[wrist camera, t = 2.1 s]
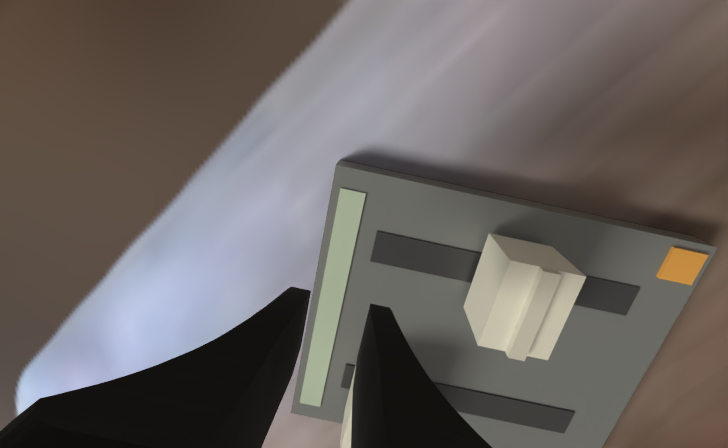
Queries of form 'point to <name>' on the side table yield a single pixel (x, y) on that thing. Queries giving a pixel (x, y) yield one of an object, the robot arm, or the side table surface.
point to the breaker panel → (449, 292)
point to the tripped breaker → (521, 297)
